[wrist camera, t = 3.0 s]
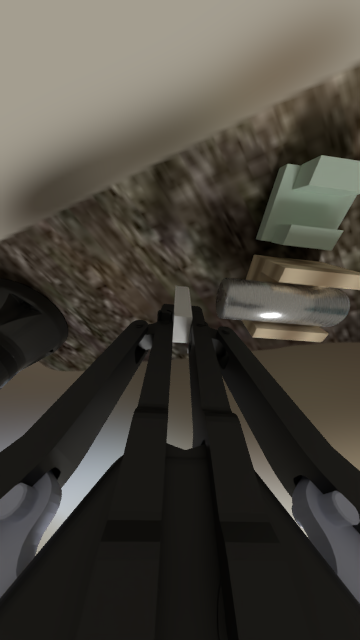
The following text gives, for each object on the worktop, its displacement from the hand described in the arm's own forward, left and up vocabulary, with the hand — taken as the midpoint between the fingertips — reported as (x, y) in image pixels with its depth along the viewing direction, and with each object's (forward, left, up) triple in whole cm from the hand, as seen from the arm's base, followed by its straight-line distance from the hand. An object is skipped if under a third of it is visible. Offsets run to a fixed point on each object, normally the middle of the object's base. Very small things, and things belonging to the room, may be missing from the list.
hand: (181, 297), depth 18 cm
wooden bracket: (+15, 0, -7) cm, 17 cm away
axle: (+12, 0, -1) cm, 12 cm away
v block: (+15, +10, -7) cm, 19 cm away
